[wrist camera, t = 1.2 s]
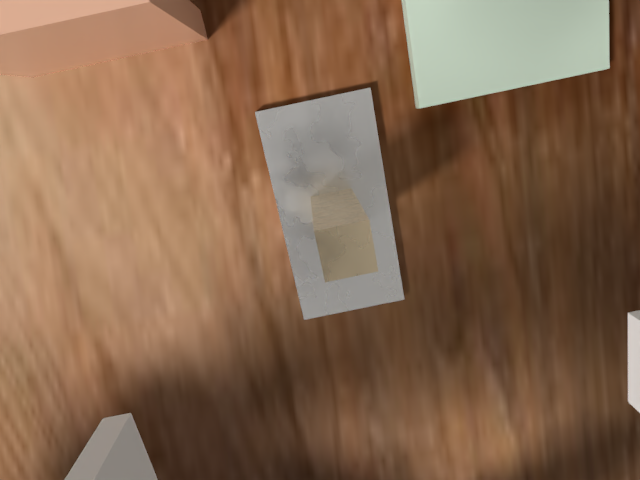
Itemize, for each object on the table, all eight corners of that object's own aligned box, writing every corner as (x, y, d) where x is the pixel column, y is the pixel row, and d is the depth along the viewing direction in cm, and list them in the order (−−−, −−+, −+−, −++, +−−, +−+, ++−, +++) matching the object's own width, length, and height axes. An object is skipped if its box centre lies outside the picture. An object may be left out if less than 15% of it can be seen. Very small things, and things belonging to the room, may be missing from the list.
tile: (207, 39, 30) (149, 2, 19) (33, 77, 30) (-131, 63, 19) (199, 6, 29) (134, -53, 18) (21, 45, 30) (-155, 11, 18)
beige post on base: (401, 294, 36) (437, 363, 27) (304, 314, 36) (305, 389, 27) (368, 87, 32) (397, 82, 22) (256, 111, 32) (237, 116, 22)
